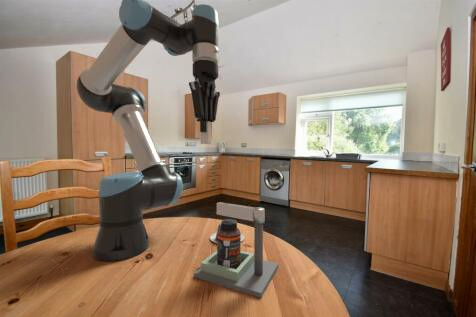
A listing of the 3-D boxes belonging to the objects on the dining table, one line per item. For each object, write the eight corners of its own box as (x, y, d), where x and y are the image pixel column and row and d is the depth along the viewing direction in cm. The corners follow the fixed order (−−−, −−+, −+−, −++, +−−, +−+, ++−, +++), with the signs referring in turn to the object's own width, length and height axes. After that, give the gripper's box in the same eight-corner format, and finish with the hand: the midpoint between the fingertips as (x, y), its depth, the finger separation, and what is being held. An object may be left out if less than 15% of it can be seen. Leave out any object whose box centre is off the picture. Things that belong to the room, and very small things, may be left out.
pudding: (224, 230, 83) (224, 217, 83) (251, 237, 76) (251, 223, 76) (202, 240, 74) (202, 225, 74) (230, 250, 67) (230, 233, 67)
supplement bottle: (231, 274, 51) (231, 227, 51) (212, 267, 54) (212, 222, 54) (244, 263, 56) (245, 220, 56) (226, 257, 59) (226, 216, 59)
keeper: (266, 220, 51) (266, 208, 51) (261, 224, 49) (261, 211, 49) (221, 212, 59) (221, 201, 58) (214, 215, 56) (214, 203, 56)
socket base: (193, 277, 52) (193, 222, 51) (221, 254, 63) (221, 209, 63) (261, 297, 44) (261, 234, 44) (278, 267, 56) (278, 217, 56)
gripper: (203, 51, 56) (203, 142, 57) (227, 69, 68) (227, 144, 68) (180, 57, 59) (181, 143, 60) (207, 73, 71) (207, 144, 72)
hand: (205, 143), depth 64 cm, fingers closed
